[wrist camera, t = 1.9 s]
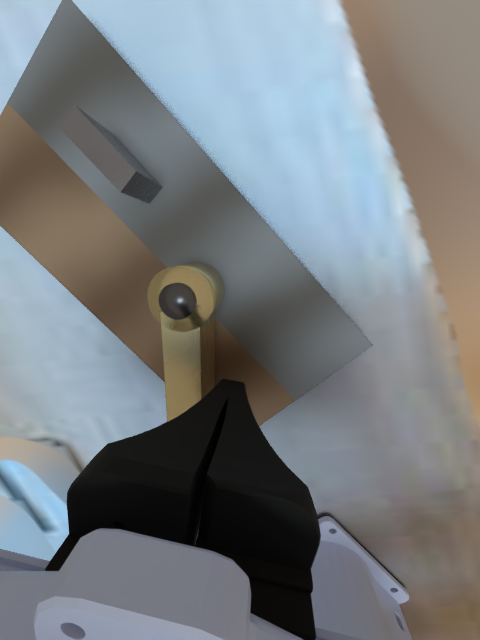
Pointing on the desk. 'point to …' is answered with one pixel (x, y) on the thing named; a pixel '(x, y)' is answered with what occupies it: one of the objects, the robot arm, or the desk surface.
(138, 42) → the desk surface
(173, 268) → the lock bar
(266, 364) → the board
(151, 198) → the block
